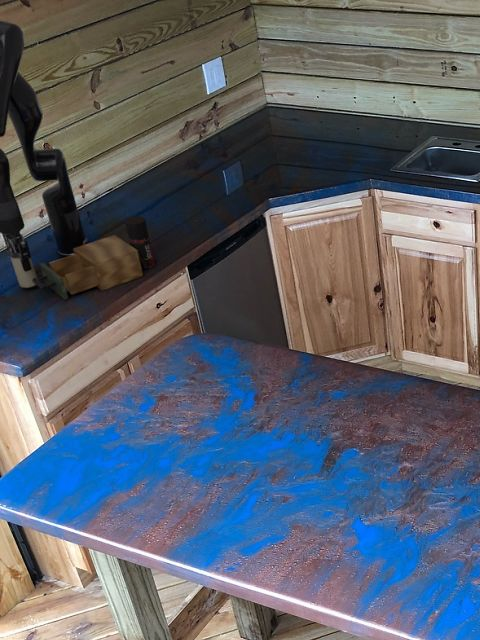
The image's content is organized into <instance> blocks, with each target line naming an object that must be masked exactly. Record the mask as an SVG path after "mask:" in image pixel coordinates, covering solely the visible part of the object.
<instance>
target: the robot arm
mask: <svg viewBox="0 0 480 640" xmlns="http://www.w3.org/2000/svg"><path fill="white" fill-rule="evenodd" d="M25 43H26V42H25V34H24V32H23V30H22V28H21V27H20V26H19V25H17V24H15V23H13V22H9V21H5V20H1V19H0V138H3V137H4V136H5V135H6V131H7V124H8V117H9V119H10V121H11V124H12V126H13V129H14V130H15V131H14V132H15V134H16V136H17V139H18V141H19V144H20V146H21V151H22V154H23V157H24V160H25V163H26V166H27V169H28V172H29V175H30V176H31V178H32V179H33V180H34V181H36V182H50V181H57V183H56V184H54V185H53V186H50V187H49V188H47V189H46V190H44V191H43V193H42V195H41V198H42V201H43V204H44V208H45V211H46V214H47V218H48V221H49V224H50V228H51V231H52V236H53V238H54V243H55V245H56V249H57V253H58V255H60V256H62V257H67V256H70V255H73V254H74V251H73V248H76V247H79V246H82V245H85V244H88V237H86V234H85V232H84V231H85V230H84V228H83V224H82V220H81V217H80V213H79V209H78V205H77V201H76V198H75V195H74V191H73V186H72V183H71V180H70V175H69V169H68V165H67V161H66V157H65V154H64V152H63V151H62V150H61V149H60V148H46V149H45V148H44V149H36V148H35V141H36V137H37V134H38V132H39V130H40V127H41V125H42V121H43V116H44V113H43V109H42V106H41V102H40V101H39V97H38V95H37V92H36V91H35V89H34V88H33V86H32V85H31V84H30V83H29V82H28V80H27V79H26V78H25V77H24V76H23V75H22V74H21V73H20V72H19V70H20V66H21V63H22V60H23V55H24V50H25ZM25 226H26V225H25V222H24V219H23V215H22V212H21V209H20V207H19V203H18V201H17V198H16V197H15V194H14V190H13V186H12V185H11V168H10V161H9V157H8V156H7V154H6V153H5V151H4V150H3V149H2V148H0V234H1V235H2V237H3V241H4V243H5V246H6V249H8V250H9V252H10V254H11V253H12V252H14V251H15V253H17V254H18V256H19V259H20V261H21V264H22V267H23V270H24V271H29V270H31V269H32V268H31V265H30V262H29V258H31V259H32V255H31V252H30V247H29V244H28V241H27V239H25V238H24V236H23V234H22V233H21V231H22V230H24V228H25ZM24 253H25V255H23V254H24Z"/></svg>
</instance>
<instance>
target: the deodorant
mask: <svg viewBox="0 0 480 640" xmlns="http://www.w3.org/2000/svg"><path fill="white" fill-rule="evenodd" d="M124 223H125V228H126V232H127V236H128V240H129V241H128V242H129V245H130V246H132V247H133V248H135V249H136V250H137V252H138V256H139V260H140V265H141V269H142V270H148V269H151V268H153V267H155V265H156V262H155V258H154V257H155V256H154V253H153V248H152V245H151V241H150V235H149V231H148V226H147V221H146V219H145V217H144V216H132V217H128V218H127V219H125V221H124Z"/></svg>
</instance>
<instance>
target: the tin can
mask: <svg viewBox="0 0 480 640" xmlns="http://www.w3.org/2000/svg"><path fill="white" fill-rule="evenodd" d="M23 255H25V253H24V254H23ZM9 257H10V260H11V264H12V266H13V269H14V270H13V271H14V272H15V276H16V279H17V281H18V286H19V287H20V288H21V289H30V288H31V289H32V288H35V287H36V286H37V285H36V284H35V283H33V281H32V280H33V278H37V279H38V275H37V272H36V270H35V266H34V263H33V261H32V257H31V258H29V262H30V265H31V268H32V269H31V270H29V271H24V270H23V267H22V264H21V261H20V259H19V256H18V254H17V253H15V251H14V252H12V253H11V252H10V253H9Z"/></svg>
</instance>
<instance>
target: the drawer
mask: <svg viewBox="0 0 480 640" xmlns="http://www.w3.org/2000/svg"><path fill="white" fill-rule="evenodd" d="M38 264H39V268H40V272H41V274H42V277H37V278H33V280H32V281H33V283H35V284H36V286H37V287H38V288H39V289H40V290H42V291H47V290H48V288H50V289H51V290H52V291H53V292H54V293H56V294H57V295H58V296H59V297H61V298H62V299H63V300H68V299H69V295H68V293H69V294H70V295H71V296H72V295H76V294H79V293H81V292H84V291H87V290H89V289H93V288H95V287H96V286H98V285H99V282H98V279H97V275H96V271H95V268H94V266H93V265H92V264H91V263H89V262H88V261H86V260H85V259H84V258H82V257H81V256H80V255H78V254H77V253H76V254H73V255H70V256H63V257H61V258H59V259H55V260H53V261H49V262H48V265H49V266H48V265H47V264H46V263H45V262H40V263H38ZM41 281H44V282H41Z"/></svg>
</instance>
